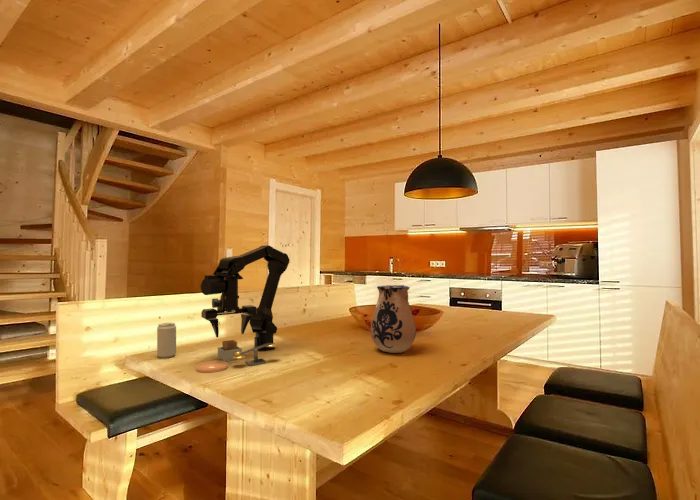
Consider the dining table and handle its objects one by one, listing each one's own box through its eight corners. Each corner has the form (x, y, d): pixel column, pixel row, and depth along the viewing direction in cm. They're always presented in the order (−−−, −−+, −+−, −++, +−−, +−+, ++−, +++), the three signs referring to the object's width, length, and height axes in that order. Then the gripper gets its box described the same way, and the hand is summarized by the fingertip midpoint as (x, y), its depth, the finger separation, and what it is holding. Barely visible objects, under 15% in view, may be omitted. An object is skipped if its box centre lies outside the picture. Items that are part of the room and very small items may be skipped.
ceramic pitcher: (364, 353, 152) (364, 287, 152) (381, 342, 172) (381, 283, 172) (410, 358, 145) (410, 288, 145) (422, 345, 165) (422, 284, 165)
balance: (274, 358, 145) (274, 340, 145) (279, 361, 142) (279, 342, 142) (230, 365, 136) (230, 346, 136) (235, 368, 132) (235, 349, 132)
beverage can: (168, 358, 145) (169, 325, 145) (153, 358, 146) (153, 324, 146) (179, 354, 151) (179, 322, 151) (164, 353, 152) (164, 321, 152)
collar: (235, 354, 150) (235, 345, 150) (241, 358, 145) (241, 348, 145) (217, 357, 147) (217, 347, 147) (223, 361, 141) (223, 351, 141)
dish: (222, 362, 140) (222, 358, 140) (232, 369, 132) (232, 365, 132) (192, 367, 134) (192, 363, 134) (200, 374, 126) (200, 370, 126)
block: (233, 356, 149) (233, 339, 149) (237, 358, 145) (237, 341, 145) (222, 357, 146) (222, 341, 146) (226, 360, 143) (226, 343, 143)
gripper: (246, 289, 158) (246, 329, 158) (197, 292, 147) (197, 335, 147) (257, 291, 149) (257, 333, 149) (205, 295, 138) (206, 340, 138)
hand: (230, 335), depth 146 cm, fingers open, 9 cm apart
